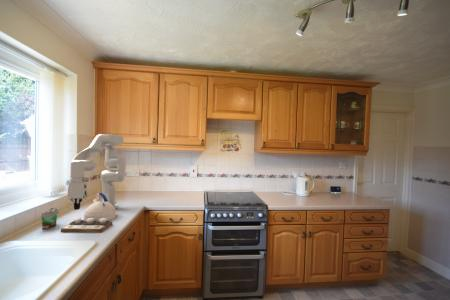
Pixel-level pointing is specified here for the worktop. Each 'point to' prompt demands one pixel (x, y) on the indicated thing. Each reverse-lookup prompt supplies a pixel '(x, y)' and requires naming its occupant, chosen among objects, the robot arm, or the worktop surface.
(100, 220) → the button
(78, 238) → the worktop surface
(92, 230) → the button board
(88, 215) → the kettle
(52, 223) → the food container
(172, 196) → the worktop surface
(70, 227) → the pattern card
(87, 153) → the robot arm
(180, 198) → the worktop surface
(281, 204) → the worktop surface
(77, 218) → the button
